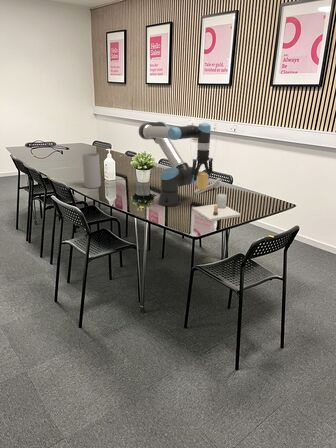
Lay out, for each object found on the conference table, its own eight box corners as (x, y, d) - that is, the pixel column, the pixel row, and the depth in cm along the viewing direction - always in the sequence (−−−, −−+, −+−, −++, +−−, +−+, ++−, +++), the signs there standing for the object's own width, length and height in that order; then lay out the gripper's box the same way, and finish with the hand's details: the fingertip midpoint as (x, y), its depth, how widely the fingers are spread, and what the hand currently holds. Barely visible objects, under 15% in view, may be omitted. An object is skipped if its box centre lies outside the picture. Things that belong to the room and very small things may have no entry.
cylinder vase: (102, 184, 271) (100, 153, 261) (98, 188, 259) (96, 156, 250) (87, 183, 272) (85, 152, 262) (82, 188, 260) (79, 155, 251)
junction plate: (192, 209, 218) (192, 195, 214) (221, 205, 226) (222, 191, 223) (209, 221, 199) (210, 206, 196) (240, 216, 208) (241, 201, 204)
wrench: (194, 197, 251) (220, 186, 268) (195, 198, 250) (222, 187, 266) (193, 187, 247) (220, 176, 264) (195, 188, 246) (222, 177, 263)
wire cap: (194, 186, 223) (194, 172, 219) (203, 185, 225) (204, 171, 222) (199, 189, 217) (200, 174, 213) (208, 188, 219) (209, 173, 216)
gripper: (192, 151, 205) (190, 187, 213) (220, 149, 212) (217, 184, 221) (186, 149, 211) (185, 184, 220) (213, 147, 218) (211, 181, 227)
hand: (201, 184), depth 220 cm, fingers closed on wire cap, 7 cm apart
